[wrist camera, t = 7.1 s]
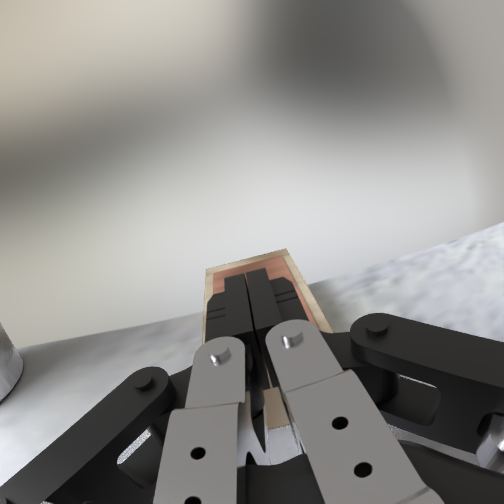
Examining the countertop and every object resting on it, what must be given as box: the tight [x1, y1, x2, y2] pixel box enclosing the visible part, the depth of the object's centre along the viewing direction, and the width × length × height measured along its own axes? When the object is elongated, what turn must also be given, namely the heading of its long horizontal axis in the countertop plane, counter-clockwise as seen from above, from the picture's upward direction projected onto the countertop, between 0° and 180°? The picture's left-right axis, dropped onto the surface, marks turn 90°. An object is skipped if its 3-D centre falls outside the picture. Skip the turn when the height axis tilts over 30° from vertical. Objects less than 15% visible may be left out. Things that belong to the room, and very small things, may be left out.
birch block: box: [202, 249, 334, 430], centre depth 18 cm, size 6×4×12 cm
